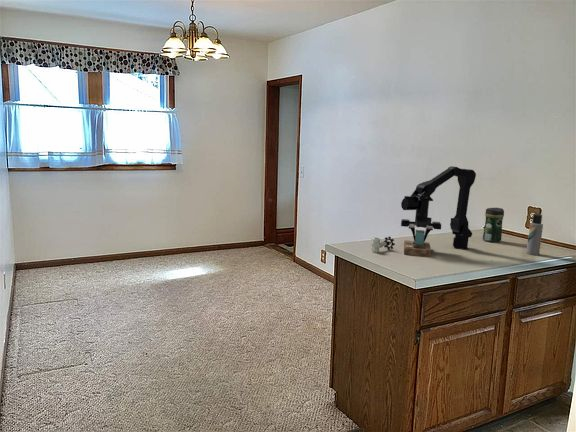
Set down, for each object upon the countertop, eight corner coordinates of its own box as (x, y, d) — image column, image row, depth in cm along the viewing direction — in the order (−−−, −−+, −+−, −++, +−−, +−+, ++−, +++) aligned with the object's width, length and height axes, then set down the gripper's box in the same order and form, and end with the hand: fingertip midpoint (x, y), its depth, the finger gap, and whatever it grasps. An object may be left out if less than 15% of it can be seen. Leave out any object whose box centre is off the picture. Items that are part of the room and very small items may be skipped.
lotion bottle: (538, 253, 238) (543, 213, 235) (540, 255, 233) (545, 215, 230) (525, 251, 240) (530, 212, 237) (527, 254, 235) (532, 214, 231)
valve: (377, 254, 222) (394, 251, 230) (378, 240, 221) (395, 237, 229) (366, 250, 228) (384, 248, 235) (367, 237, 226) (385, 235, 234)
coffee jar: (491, 238, 270) (495, 206, 267) (503, 241, 263) (507, 208, 260) (479, 240, 265) (483, 206, 262) (491, 243, 258) (495, 209, 255)
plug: (422, 246, 236) (424, 230, 235) (423, 248, 232) (424, 231, 231) (414, 245, 237) (415, 229, 236) (414, 247, 233) (416, 231, 232)
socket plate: (428, 248, 238) (429, 242, 238) (430, 256, 221) (431, 250, 220) (403, 246, 241) (404, 239, 240) (403, 254, 224) (404, 247, 223)
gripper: (402, 210, 226) (399, 243, 229) (443, 214, 222) (440, 246, 225) (402, 207, 237) (399, 238, 239) (441, 210, 233) (438, 242, 235)
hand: (419, 241), depth 234 cm, fingers open, 4 cm apart
